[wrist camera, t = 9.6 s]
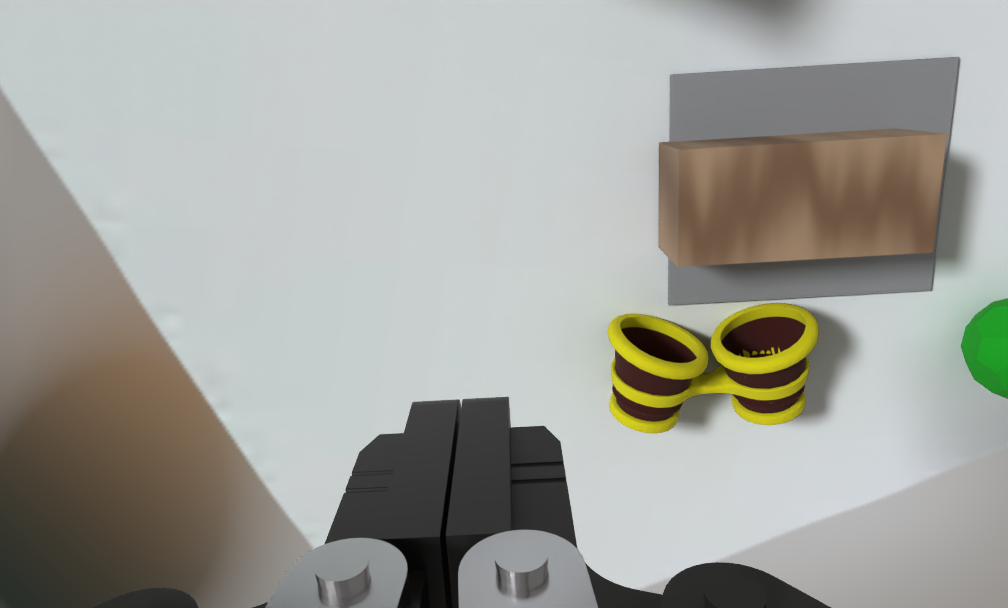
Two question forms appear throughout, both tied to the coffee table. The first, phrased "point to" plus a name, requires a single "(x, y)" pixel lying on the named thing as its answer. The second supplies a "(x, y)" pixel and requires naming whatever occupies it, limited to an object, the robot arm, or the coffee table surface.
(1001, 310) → the polyhedron
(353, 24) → the coffee table surface
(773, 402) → the opera glasses
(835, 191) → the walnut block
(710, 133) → the mat
